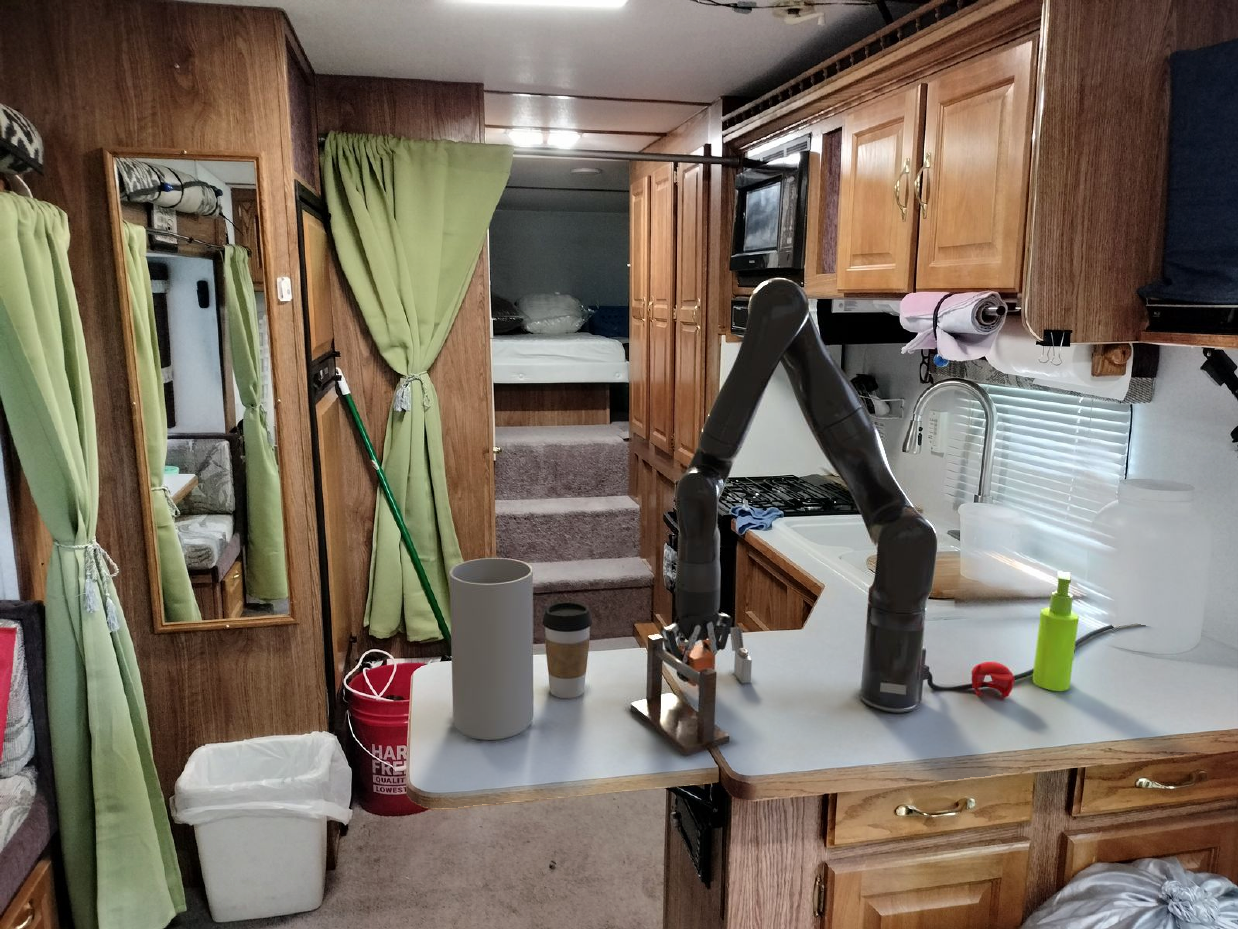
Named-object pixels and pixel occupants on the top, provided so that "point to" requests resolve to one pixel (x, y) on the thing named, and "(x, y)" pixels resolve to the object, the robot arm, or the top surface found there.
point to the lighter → (740, 656)
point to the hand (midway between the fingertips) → (695, 676)
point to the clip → (701, 660)
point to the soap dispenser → (1056, 639)
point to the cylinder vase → (492, 647)
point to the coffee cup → (567, 647)
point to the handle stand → (679, 704)
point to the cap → (993, 677)
